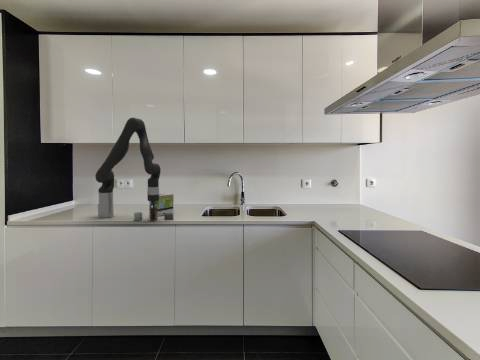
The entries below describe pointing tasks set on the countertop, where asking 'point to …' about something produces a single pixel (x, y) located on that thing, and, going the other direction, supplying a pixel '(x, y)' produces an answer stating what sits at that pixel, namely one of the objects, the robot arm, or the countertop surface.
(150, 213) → the walnut block
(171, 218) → the charcoal block
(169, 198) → the tea box
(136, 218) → the grey egg shape
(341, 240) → the countertop surface
